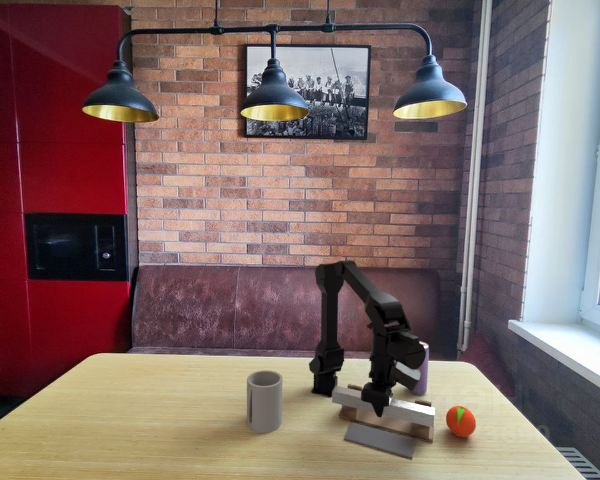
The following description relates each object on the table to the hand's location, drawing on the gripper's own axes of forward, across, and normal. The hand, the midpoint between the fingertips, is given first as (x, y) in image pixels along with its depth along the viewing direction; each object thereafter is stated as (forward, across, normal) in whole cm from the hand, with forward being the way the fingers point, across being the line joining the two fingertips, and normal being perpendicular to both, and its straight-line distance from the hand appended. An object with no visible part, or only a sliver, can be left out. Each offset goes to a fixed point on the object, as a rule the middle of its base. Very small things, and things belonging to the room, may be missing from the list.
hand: (380, 413), depth 87 cm
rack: (+7, +7, 0) cm, 10 cm away
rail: (-1, 0, 0) cm, 1 cm away
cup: (+7, -6, +29) cm, 30 cm away
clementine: (+7, +10, -18) cm, 22 cm away
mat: (+7, 0, 0) cm, 7 cm away
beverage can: (+7, +28, -6) cm, 30 cm away
